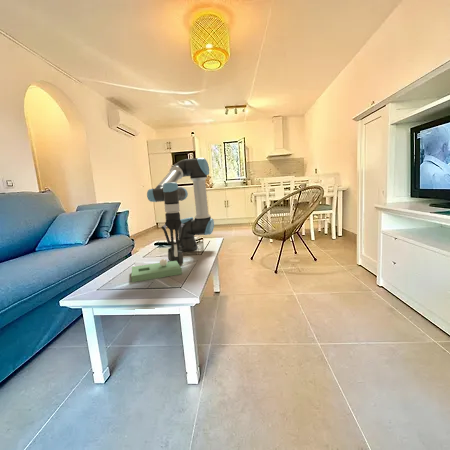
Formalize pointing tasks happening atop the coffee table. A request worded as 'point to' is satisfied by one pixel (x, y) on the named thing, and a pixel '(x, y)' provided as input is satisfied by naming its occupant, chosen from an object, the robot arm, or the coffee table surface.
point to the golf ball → (163, 262)
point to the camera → (172, 257)
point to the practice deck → (155, 271)
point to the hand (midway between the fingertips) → (176, 256)
